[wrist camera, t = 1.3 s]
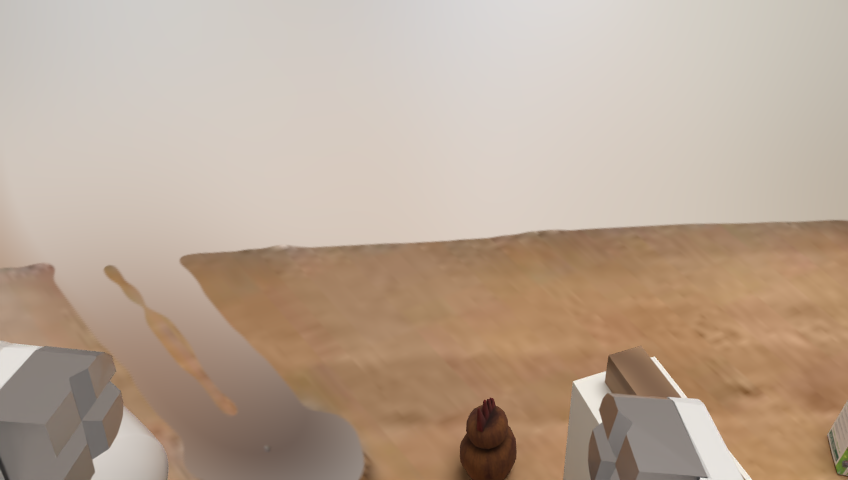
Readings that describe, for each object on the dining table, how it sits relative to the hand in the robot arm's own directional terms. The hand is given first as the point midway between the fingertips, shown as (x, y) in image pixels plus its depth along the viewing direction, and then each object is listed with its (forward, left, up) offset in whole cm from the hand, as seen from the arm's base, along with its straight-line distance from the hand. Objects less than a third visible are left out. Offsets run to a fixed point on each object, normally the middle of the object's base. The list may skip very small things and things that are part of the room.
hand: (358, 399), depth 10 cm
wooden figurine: (+13, +32, -61) cm, 70 cm away
